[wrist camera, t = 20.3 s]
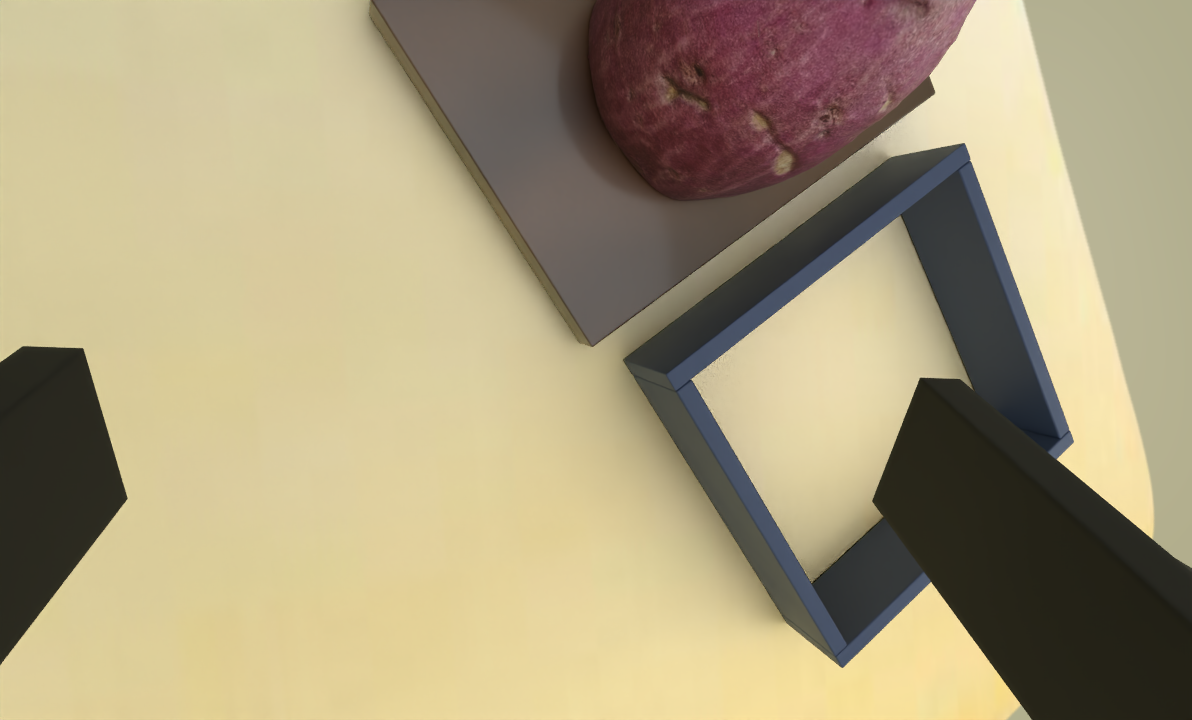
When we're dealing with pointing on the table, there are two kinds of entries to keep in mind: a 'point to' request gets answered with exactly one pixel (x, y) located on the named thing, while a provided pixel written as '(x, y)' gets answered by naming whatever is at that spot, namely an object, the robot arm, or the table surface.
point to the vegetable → (755, 82)
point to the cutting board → (569, 154)
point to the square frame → (692, 342)
